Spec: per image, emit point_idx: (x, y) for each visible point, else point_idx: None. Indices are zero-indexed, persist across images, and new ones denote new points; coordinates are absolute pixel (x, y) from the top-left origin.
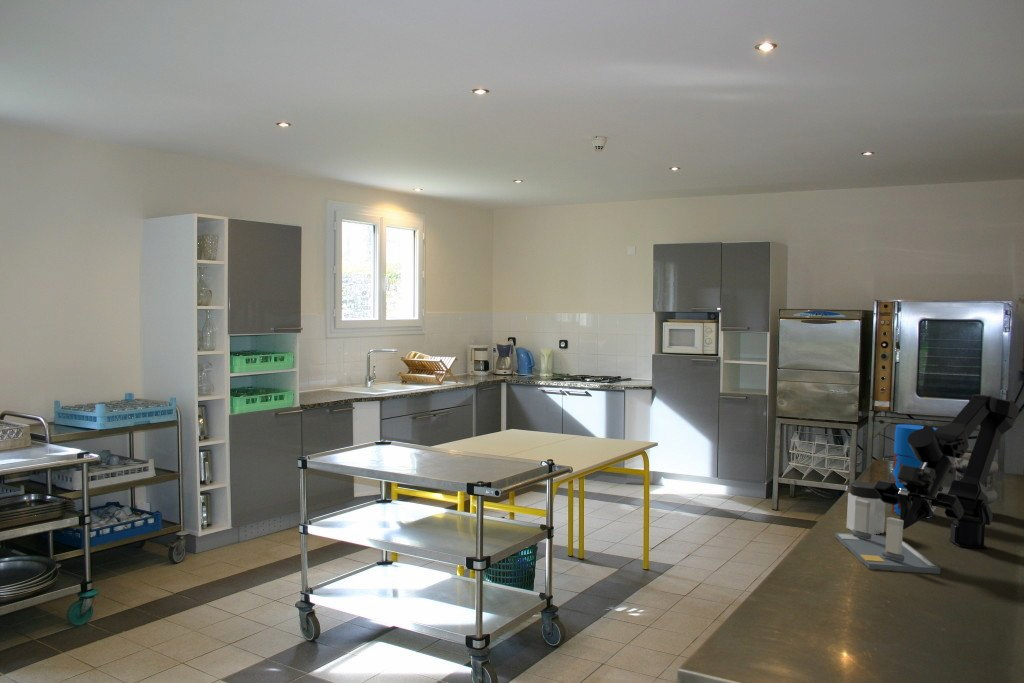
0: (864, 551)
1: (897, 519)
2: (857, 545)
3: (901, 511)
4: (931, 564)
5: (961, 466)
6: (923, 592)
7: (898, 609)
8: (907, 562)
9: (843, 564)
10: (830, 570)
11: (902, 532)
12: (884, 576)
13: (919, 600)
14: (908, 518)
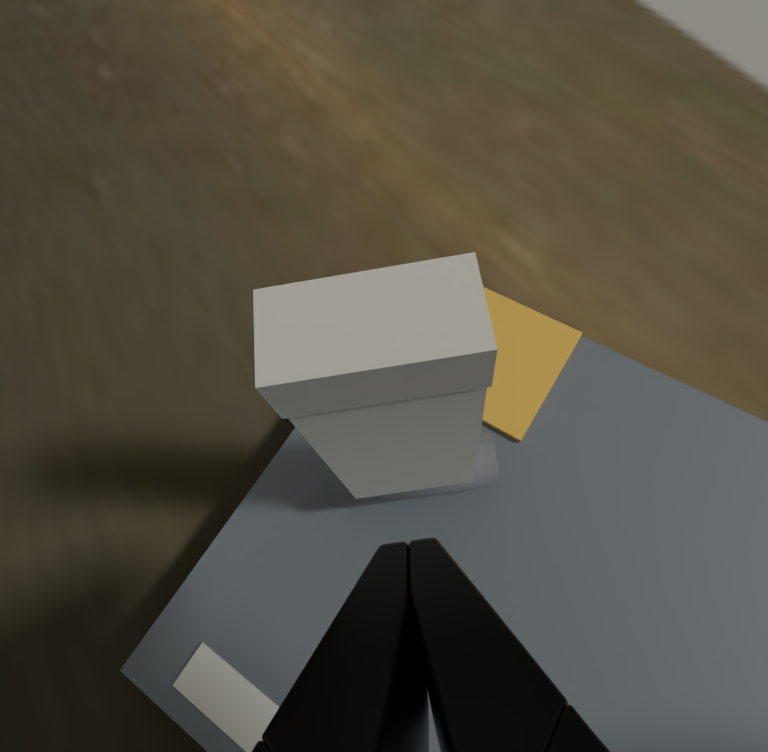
0: (667, 450)
1: (341, 342)
2: None
3: (554, 719)
4: (199, 684)
5: None
6: (60, 263)
7: (45, 54)
8: (330, 539)
9: (538, 214)
10: (476, 100)
11: (311, 442)
12: (295, 269)
13: (31, 175)
14: (320, 647)
